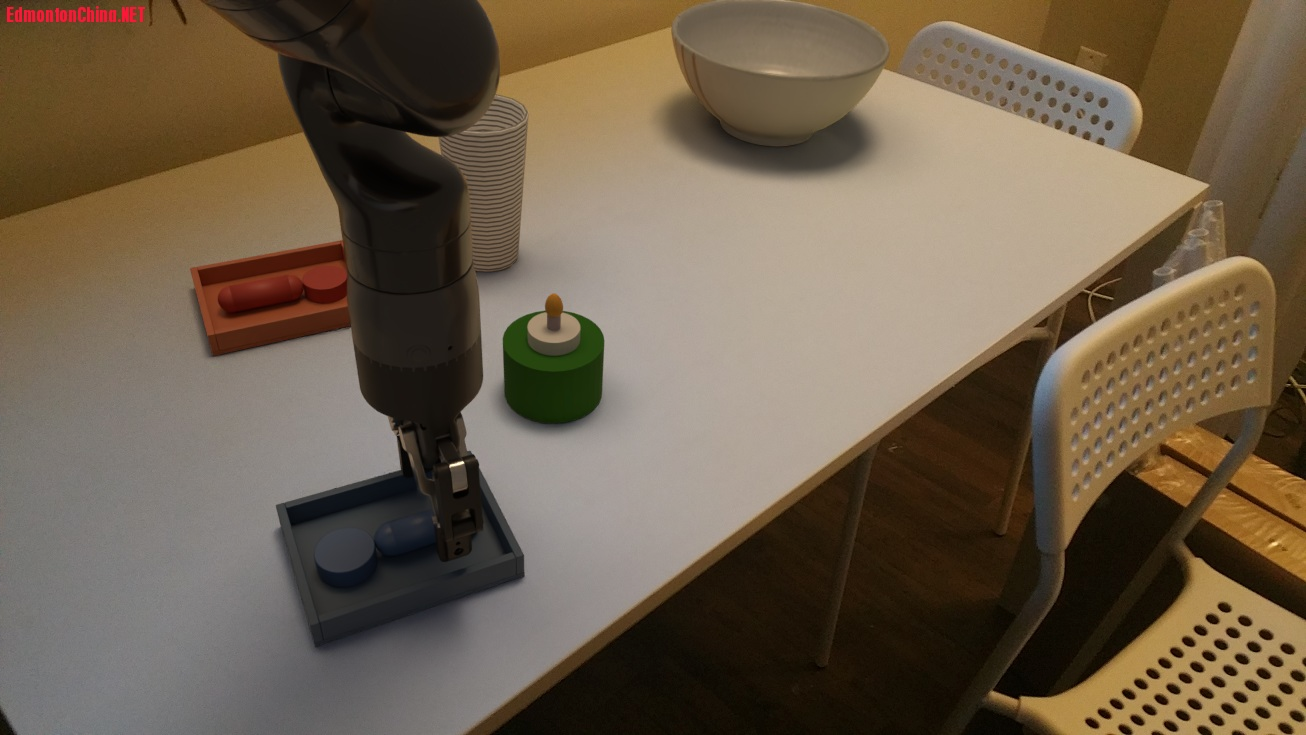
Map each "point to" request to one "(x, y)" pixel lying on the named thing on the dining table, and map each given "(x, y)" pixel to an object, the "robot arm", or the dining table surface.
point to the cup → (493, 180)
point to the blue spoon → (369, 548)
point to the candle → (553, 364)
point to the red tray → (273, 319)
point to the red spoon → (286, 289)
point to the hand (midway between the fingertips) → (435, 511)
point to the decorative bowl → (776, 65)
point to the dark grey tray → (395, 578)
